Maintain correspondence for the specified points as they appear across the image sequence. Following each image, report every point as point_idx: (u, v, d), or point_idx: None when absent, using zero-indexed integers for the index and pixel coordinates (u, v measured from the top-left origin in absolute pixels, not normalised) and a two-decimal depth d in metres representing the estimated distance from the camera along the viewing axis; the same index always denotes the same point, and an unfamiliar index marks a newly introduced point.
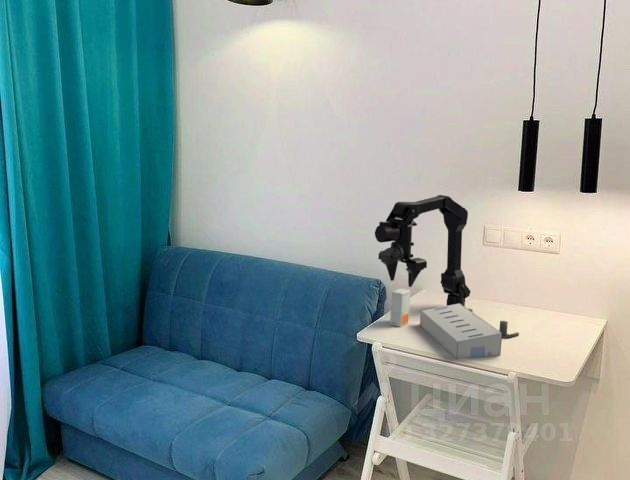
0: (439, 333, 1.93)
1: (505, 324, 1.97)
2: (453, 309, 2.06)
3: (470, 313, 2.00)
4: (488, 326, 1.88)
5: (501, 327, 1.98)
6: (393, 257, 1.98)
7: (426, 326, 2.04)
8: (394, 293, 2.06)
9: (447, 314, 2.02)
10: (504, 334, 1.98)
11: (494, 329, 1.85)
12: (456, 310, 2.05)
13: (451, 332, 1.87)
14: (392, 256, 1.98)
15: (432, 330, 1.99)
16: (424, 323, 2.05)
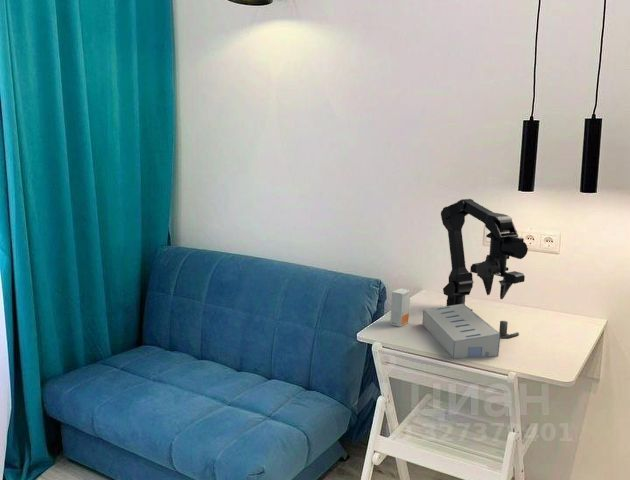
0: (439, 332, 1.93)
1: (505, 324, 1.97)
2: (455, 309, 2.06)
3: (472, 313, 2.00)
4: (487, 327, 1.88)
5: (501, 327, 1.98)
6: (491, 271, 1.96)
7: (428, 325, 2.04)
8: (394, 293, 2.06)
9: (449, 314, 2.02)
10: (504, 334, 1.98)
11: (493, 330, 1.85)
12: (458, 310, 2.05)
13: (449, 332, 1.87)
14: (490, 270, 1.96)
15: (433, 329, 1.99)
16: (426, 323, 2.06)
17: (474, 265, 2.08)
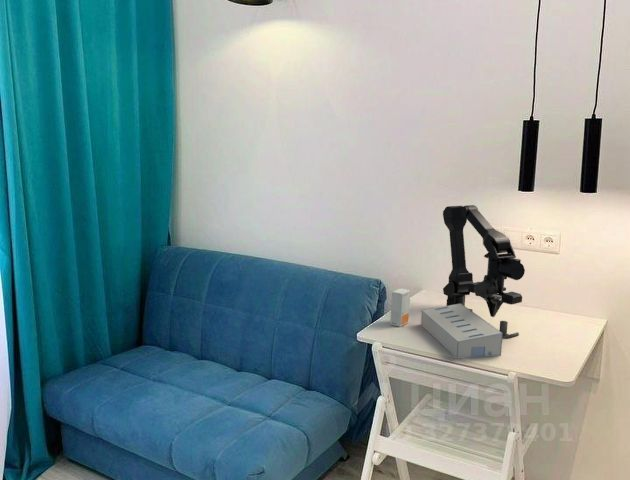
0: (440, 333, 1.93)
1: (505, 324, 1.97)
2: (454, 309, 2.06)
3: (471, 313, 2.00)
4: (489, 326, 1.88)
5: (501, 327, 1.98)
6: (489, 292, 1.97)
7: (427, 326, 2.04)
8: (394, 293, 2.06)
9: (448, 314, 2.02)
10: (504, 334, 1.98)
11: (495, 329, 1.85)
12: (457, 310, 2.05)
13: (451, 332, 1.87)
14: (488, 290, 1.98)
15: (433, 330, 1.99)
16: (425, 323, 2.05)
17: (472, 285, 2.10)
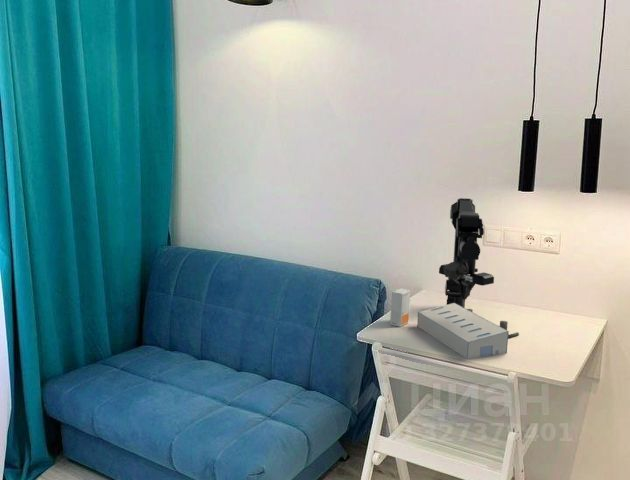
0: (443, 334, 1.92)
1: (505, 324, 1.97)
2: (450, 309, 2.06)
3: (469, 312, 2.01)
4: (492, 325, 1.89)
5: None
6: (459, 272, 1.87)
7: (425, 327, 2.02)
8: (394, 293, 2.06)
9: (446, 314, 2.02)
10: None
11: (499, 327, 1.87)
12: (453, 310, 2.05)
13: (458, 333, 1.86)
14: (458, 271, 1.87)
15: (433, 331, 1.98)
16: (423, 325, 2.04)
17: (443, 266, 1.99)
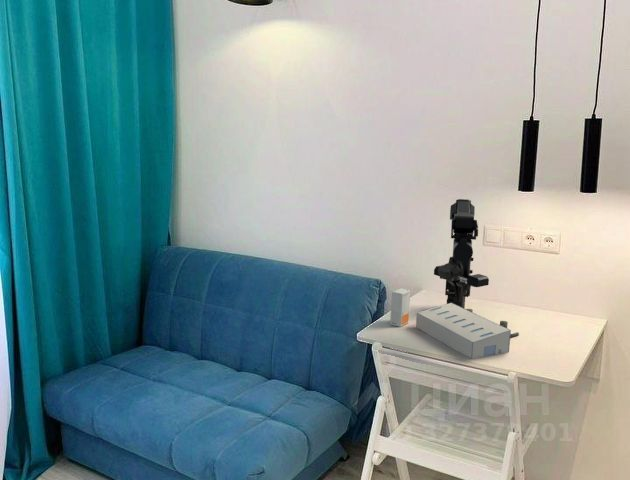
0: (445, 334, 1.92)
1: (505, 324, 1.97)
2: (448, 309, 2.06)
3: (468, 312, 2.02)
4: (493, 324, 1.90)
5: None
6: (453, 274, 1.86)
7: (425, 328, 2.02)
8: (394, 293, 2.06)
9: (445, 314, 2.02)
10: None
11: (501, 327, 1.88)
12: (452, 310, 2.05)
13: (460, 333, 1.86)
14: (452, 273, 1.86)
15: (434, 331, 1.97)
16: (423, 325, 2.03)
17: (437, 267, 1.98)
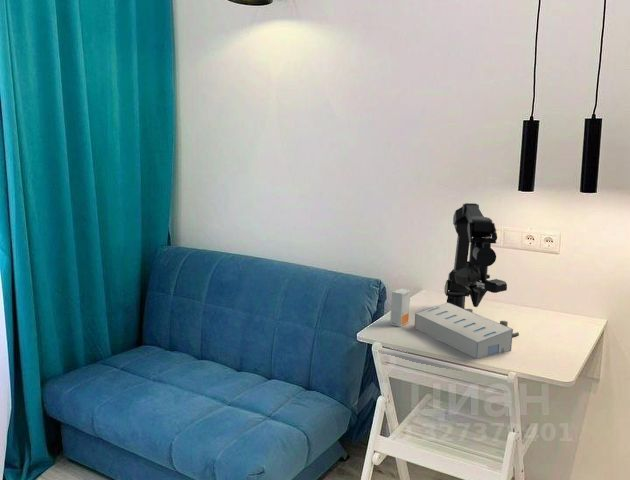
0: (447, 334, 1.91)
1: (505, 324, 1.97)
2: (446, 309, 2.06)
3: (466, 311, 2.02)
4: (494, 323, 1.91)
5: None
6: (471, 279, 1.80)
7: (425, 328, 2.01)
8: (394, 293, 2.06)
9: (445, 315, 2.01)
10: None
11: (502, 326, 1.89)
12: (450, 310, 2.05)
13: (464, 333, 1.86)
14: (469, 278, 1.80)
15: (435, 332, 1.97)
16: (422, 326, 2.02)
17: (453, 272, 1.93)
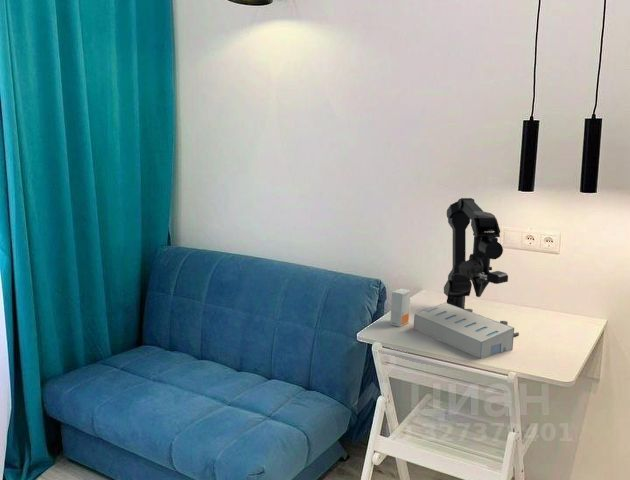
0: (449, 335, 1.91)
1: (505, 324, 1.97)
2: (445, 309, 2.06)
3: (465, 311, 2.02)
4: (495, 322, 1.92)
5: None
6: (474, 271, 1.92)
7: (425, 329, 2.00)
8: (394, 293, 2.06)
9: (444, 315, 2.01)
10: None
11: (503, 325, 1.89)
12: (449, 310, 2.05)
13: (466, 333, 1.86)
14: (473, 270, 1.93)
15: (435, 332, 1.96)
16: (422, 327, 2.02)
17: (457, 264, 2.05)
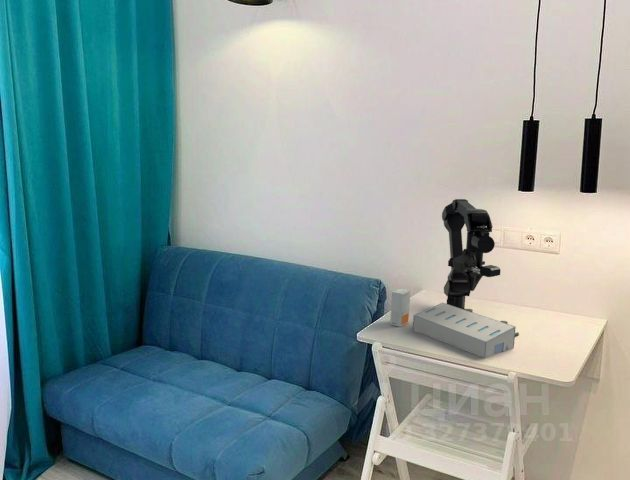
0: (450, 335, 1.91)
1: None
2: (443, 309, 2.06)
3: (464, 311, 2.03)
4: (495, 322, 1.92)
5: None
6: (467, 264, 1.98)
7: (425, 330, 2.00)
8: (394, 293, 2.06)
9: (444, 315, 2.01)
10: None
11: (504, 324, 1.90)
12: (447, 310, 2.05)
13: (469, 333, 1.86)
14: (466, 263, 1.98)
15: (436, 333, 1.96)
16: (422, 328, 2.01)
17: (451, 259, 2.10)
